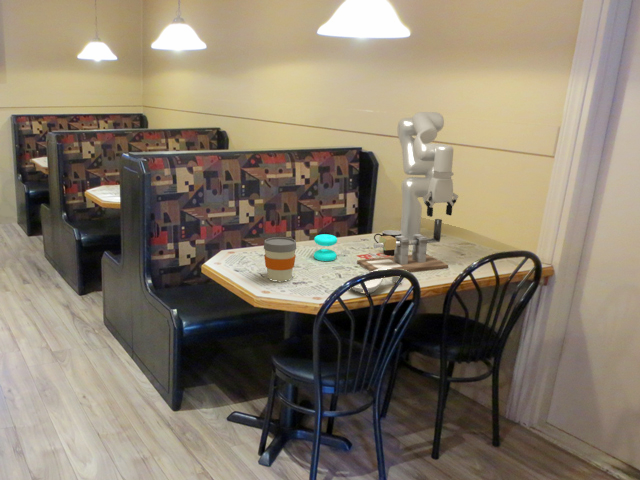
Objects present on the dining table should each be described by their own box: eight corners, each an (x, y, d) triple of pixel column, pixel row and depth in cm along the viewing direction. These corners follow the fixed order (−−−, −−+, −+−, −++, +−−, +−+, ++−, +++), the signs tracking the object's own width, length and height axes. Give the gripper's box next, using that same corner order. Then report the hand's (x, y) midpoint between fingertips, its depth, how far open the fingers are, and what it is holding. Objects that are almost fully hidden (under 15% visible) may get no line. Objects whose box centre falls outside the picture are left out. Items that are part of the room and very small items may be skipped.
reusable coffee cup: (301, 280, 227) (302, 243, 223) (273, 285, 221) (273, 247, 217) (285, 271, 237) (286, 235, 233) (257, 276, 231) (257, 239, 227)
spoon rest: (363, 299, 210) (364, 280, 208) (341, 290, 219) (342, 271, 217) (408, 286, 225) (409, 268, 223) (385, 278, 234) (387, 261, 232)
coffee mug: (403, 254, 268) (405, 232, 265) (392, 257, 261) (394, 235, 259) (383, 248, 275) (384, 228, 273) (372, 252, 269) (373, 230, 266)
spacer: (378, 247, 246) (379, 236, 245) (389, 246, 248) (389, 235, 247) (385, 250, 241) (385, 239, 240) (395, 249, 243) (396, 238, 242)
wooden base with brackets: (357, 263, 251) (358, 235, 248) (424, 256, 265) (426, 229, 261) (377, 276, 235) (379, 246, 232) (448, 268, 249) (450, 239, 246)
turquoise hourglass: (310, 235, 256) (329, 232, 261) (309, 257, 258) (328, 254, 263) (321, 240, 248) (341, 237, 253) (321, 263, 250) (340, 260, 255)
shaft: (372, 247, 243) (374, 223, 241) (437, 241, 256) (439, 218, 254) (376, 249, 241) (377, 225, 238) (441, 242, 253) (443, 220, 251)
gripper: (453, 173, 253) (450, 212, 257) (419, 174, 247) (417, 215, 251) (464, 176, 247) (461, 216, 251) (430, 177, 240) (427, 218, 244)
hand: (439, 215), depth 251 cm, fingers open, 9 cm apart
